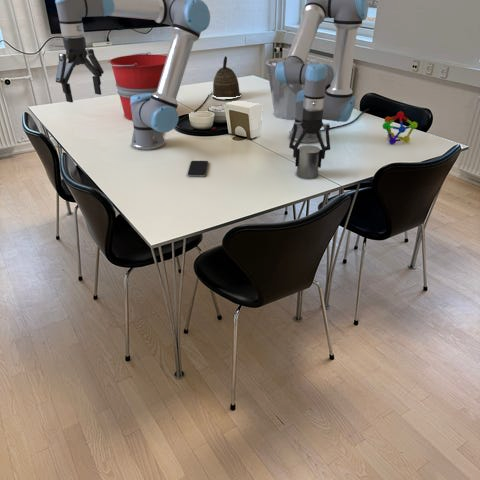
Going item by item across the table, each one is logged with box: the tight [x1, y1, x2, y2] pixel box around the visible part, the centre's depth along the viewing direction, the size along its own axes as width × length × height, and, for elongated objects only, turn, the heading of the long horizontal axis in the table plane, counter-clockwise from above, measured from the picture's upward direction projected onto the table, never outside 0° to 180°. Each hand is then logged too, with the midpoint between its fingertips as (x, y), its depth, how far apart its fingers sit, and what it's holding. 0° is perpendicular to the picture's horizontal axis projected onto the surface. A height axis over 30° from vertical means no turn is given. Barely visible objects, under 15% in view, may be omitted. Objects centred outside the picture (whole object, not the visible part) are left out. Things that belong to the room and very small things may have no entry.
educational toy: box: [382, 110, 418, 145], centre depth 207 cm, size 16×13×15 cm
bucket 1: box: [106, 51, 167, 121], centre depth 240 cm, size 35×35×30 cm
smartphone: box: [187, 160, 209, 177], centre depth 182 cm, size 7×1×15 cm
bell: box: [212, 56, 242, 97], centre depth 278 cm, size 19×26×20 cm
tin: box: [296, 144, 321, 180], centre depth 176 cm, size 8×8×11 cm
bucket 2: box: [265, 57, 322, 120], centre depth 242 cm, size 30×30×28 cm
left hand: (84, 97), depth 167 cm, fingers open, 13 cm apart
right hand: (307, 165), depth 176 cm, fingers closed on tin, 8 cm apart
